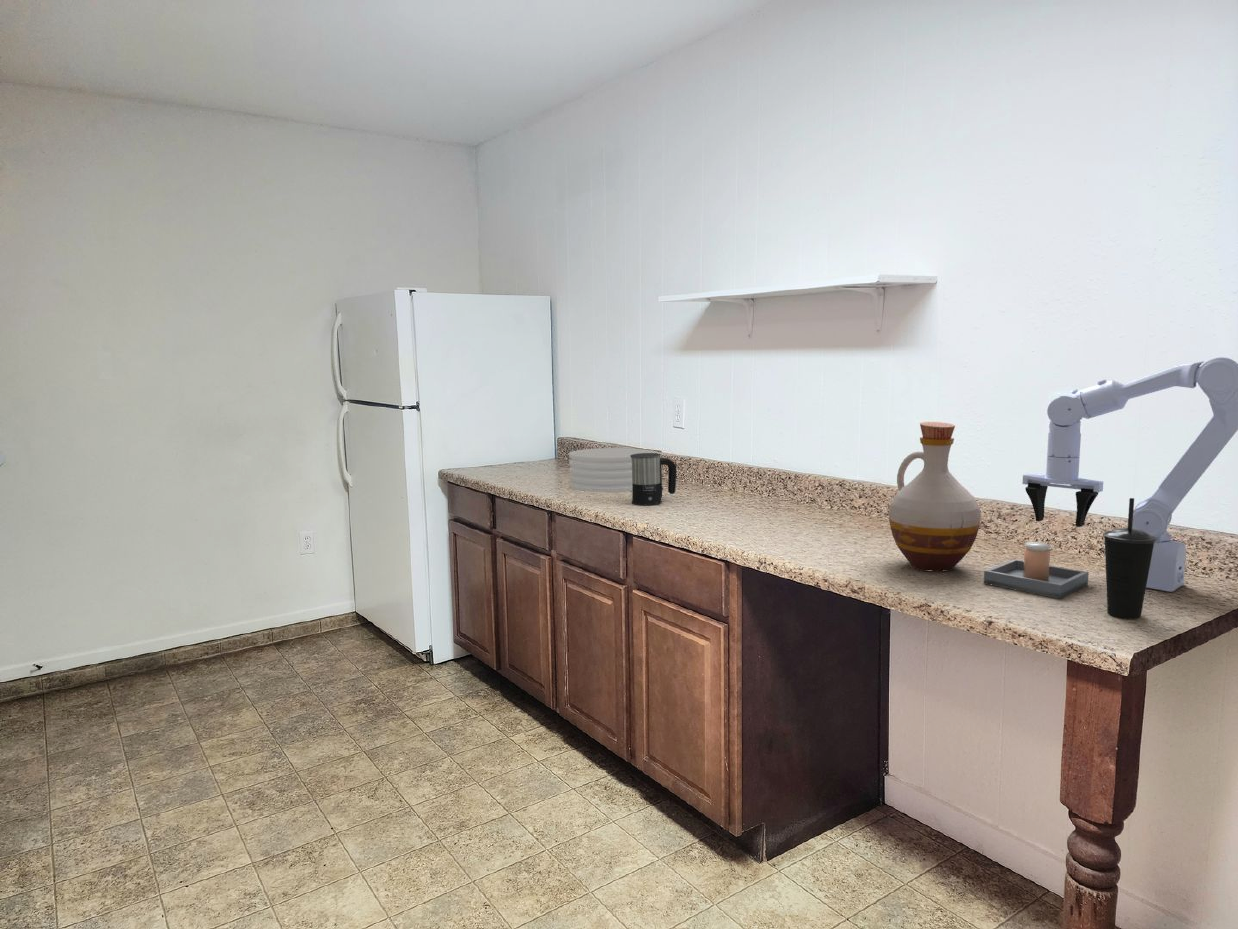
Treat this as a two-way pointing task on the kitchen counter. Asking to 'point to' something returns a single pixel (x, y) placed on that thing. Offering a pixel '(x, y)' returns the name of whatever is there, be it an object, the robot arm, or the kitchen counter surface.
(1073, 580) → the tray
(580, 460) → the plate stack
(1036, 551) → the shaker
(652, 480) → the milk frother
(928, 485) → the jug
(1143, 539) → the drinking cup
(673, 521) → the kitchen counter surface
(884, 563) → the kitchen counter surface
